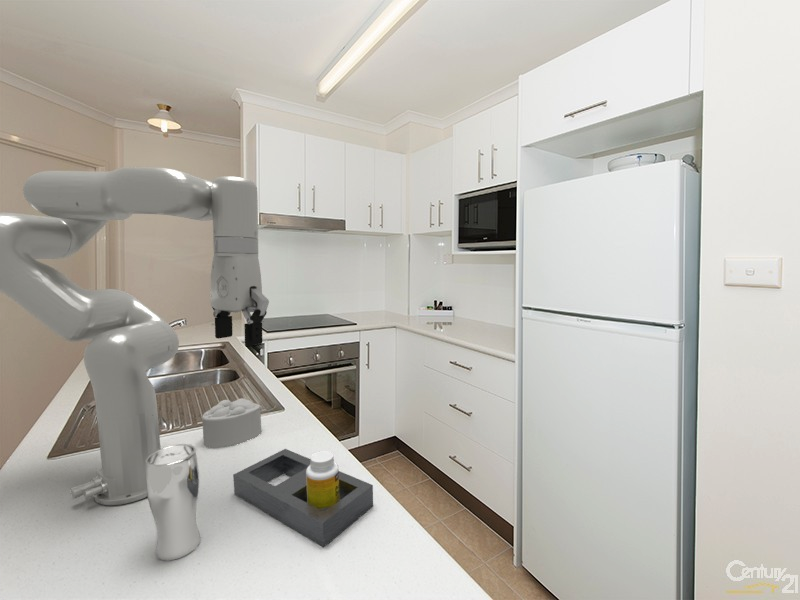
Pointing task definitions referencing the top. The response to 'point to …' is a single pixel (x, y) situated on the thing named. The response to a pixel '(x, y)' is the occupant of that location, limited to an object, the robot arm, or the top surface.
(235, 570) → the top surface
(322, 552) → the top surface
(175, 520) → the beer glass
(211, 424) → the lumpy-topped squat cylinder
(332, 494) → the supplement bottle
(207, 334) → the top surface
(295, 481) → the cinder block
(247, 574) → the top surface
